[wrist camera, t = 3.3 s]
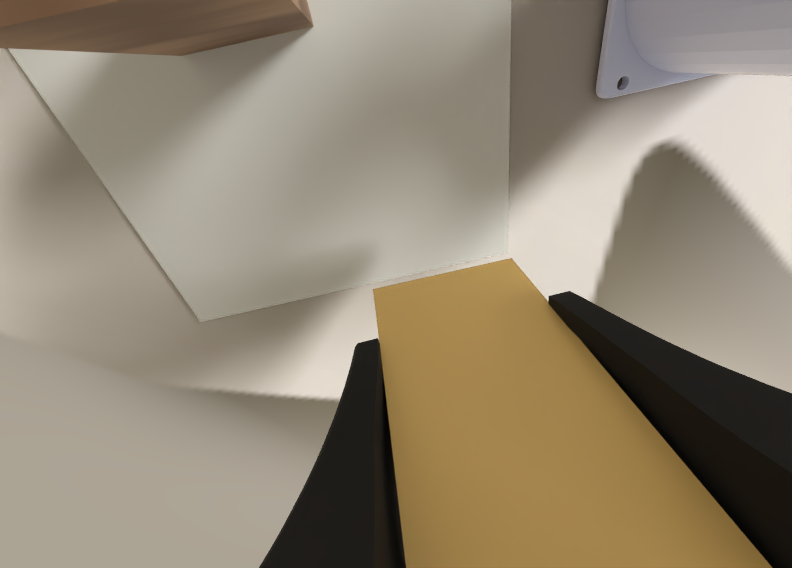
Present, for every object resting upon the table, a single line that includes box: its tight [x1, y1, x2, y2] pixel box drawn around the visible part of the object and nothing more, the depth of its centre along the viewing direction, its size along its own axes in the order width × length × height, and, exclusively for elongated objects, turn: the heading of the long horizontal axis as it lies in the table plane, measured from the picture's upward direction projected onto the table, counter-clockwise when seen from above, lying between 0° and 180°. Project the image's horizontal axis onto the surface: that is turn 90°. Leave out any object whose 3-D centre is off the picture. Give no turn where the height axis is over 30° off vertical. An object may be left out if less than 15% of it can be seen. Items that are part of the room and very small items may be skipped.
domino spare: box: [373, 258, 772, 568], centre depth 8 cm, size 5×2×9 cm, turn 100°
